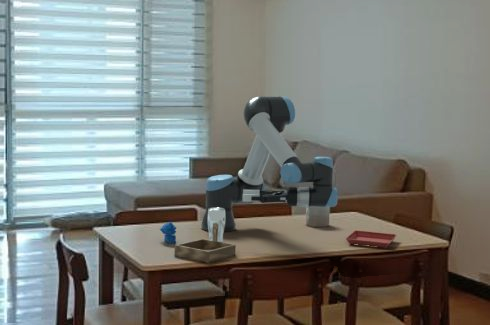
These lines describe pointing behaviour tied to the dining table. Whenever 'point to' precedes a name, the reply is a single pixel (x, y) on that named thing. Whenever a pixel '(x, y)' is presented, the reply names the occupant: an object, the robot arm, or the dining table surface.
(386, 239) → the plant saucer
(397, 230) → the dining table surface
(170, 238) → the blue figurine
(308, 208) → the planter
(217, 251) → the crate
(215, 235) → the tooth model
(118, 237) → the dining table surface
